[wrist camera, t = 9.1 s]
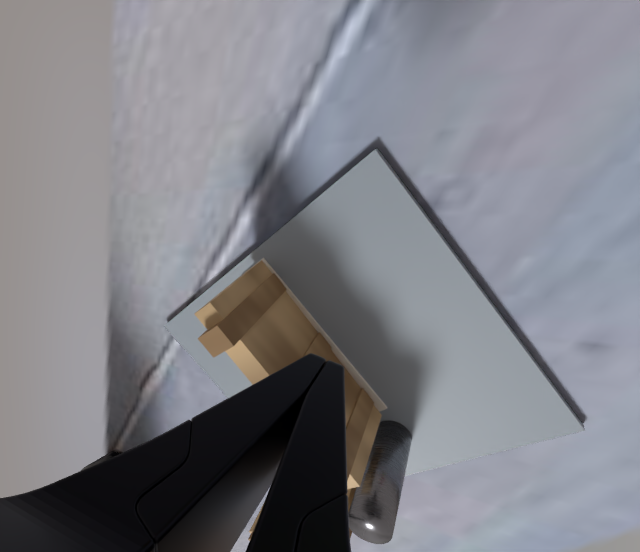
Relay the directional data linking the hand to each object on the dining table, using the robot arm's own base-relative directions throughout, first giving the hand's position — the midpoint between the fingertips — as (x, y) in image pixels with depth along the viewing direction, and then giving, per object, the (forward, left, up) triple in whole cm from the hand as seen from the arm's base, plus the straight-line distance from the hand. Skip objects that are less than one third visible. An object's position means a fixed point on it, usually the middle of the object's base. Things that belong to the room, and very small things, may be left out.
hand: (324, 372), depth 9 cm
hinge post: (-5, -8, -7) cm, 12 cm away
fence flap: (-5, -2, -7) cm, 9 cm away
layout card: (-5, -3, -7) cm, 10 cm away
